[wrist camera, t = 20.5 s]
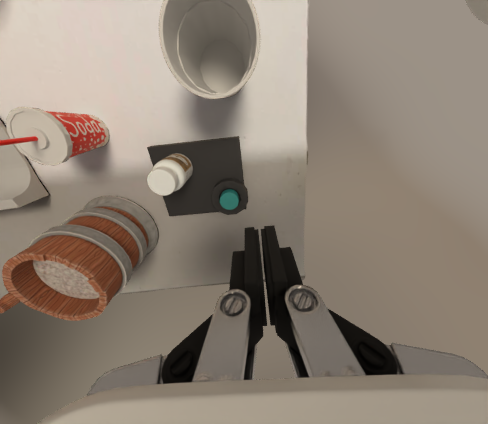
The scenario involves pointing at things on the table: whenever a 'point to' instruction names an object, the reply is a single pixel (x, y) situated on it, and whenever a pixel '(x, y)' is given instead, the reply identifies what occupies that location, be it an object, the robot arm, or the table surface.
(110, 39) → the table surface
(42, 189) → the grey desk tray
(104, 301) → the mug
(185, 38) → the cup
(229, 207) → the button
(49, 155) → the beverage cup
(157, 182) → the pill bottle
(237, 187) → the scale
